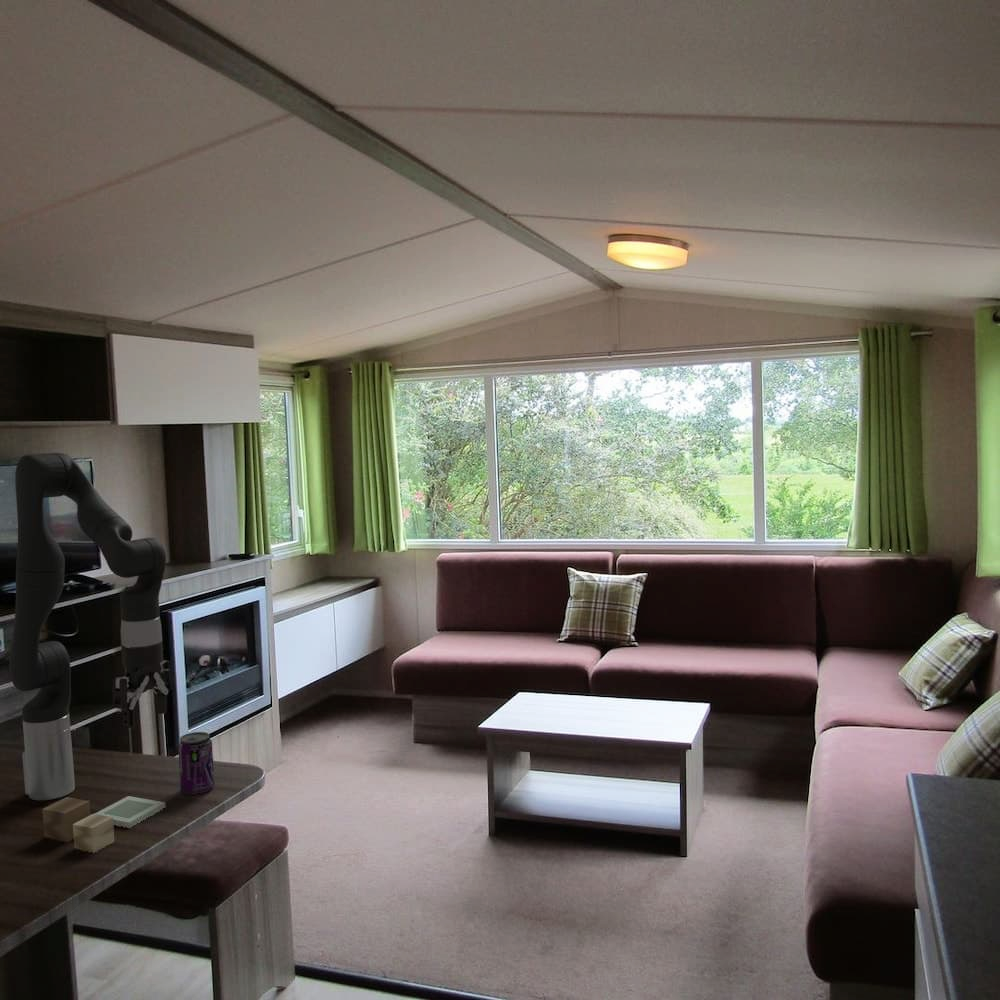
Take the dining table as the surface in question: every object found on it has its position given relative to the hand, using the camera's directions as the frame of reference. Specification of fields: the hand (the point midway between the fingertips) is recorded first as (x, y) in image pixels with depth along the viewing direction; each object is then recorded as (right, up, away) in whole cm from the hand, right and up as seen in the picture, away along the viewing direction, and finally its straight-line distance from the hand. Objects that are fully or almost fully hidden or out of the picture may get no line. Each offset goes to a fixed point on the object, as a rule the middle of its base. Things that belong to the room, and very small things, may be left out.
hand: (145, 720), depth 187 cm
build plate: (-6, -21, +8) cm, 24 cm away
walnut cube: (-15, -23, 0) cm, 27 cm away
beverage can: (+4, -20, +20) cm, 28 cm away
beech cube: (-8, -23, -6) cm, 25 cm away
